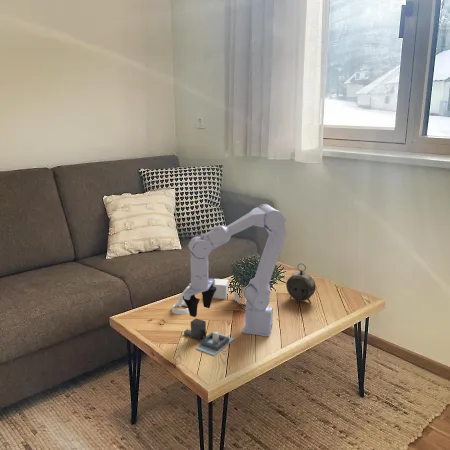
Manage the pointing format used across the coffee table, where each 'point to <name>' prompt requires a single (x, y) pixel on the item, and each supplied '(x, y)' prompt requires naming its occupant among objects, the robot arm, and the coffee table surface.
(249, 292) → the robot arm
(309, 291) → the alarm clock
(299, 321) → the coffee table surface
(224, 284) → the white cube
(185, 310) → the hook
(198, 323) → the grey block with tab
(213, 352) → the keeper
